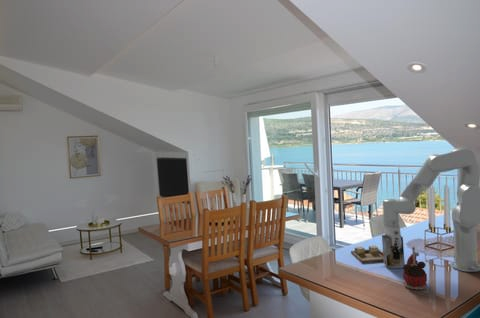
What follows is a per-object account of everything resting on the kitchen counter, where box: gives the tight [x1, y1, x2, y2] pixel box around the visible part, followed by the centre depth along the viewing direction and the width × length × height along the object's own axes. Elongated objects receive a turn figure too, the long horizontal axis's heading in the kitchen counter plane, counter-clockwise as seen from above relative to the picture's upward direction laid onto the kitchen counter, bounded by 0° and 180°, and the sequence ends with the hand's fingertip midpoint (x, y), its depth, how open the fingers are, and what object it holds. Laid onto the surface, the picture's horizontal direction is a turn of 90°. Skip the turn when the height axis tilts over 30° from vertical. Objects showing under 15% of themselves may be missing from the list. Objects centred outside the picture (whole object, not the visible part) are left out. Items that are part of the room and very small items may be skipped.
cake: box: [402, 246, 428, 290], centre depth 164 cm, size 11×9×18 cm
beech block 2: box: [368, 245, 379, 255], centre depth 210 cm, size 4×4×4 cm
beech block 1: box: [354, 245, 366, 256], centre depth 210 cm, size 4×4×4 cm
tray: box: [350, 248, 384, 264], centre depth 204 cm, size 18×16×2 cm
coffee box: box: [381, 234, 406, 269], centre depth 190 cm, size 9×6×16 cm
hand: (393, 256), depth 190 cm, fingers closed on coffee box, 6 cm apart
